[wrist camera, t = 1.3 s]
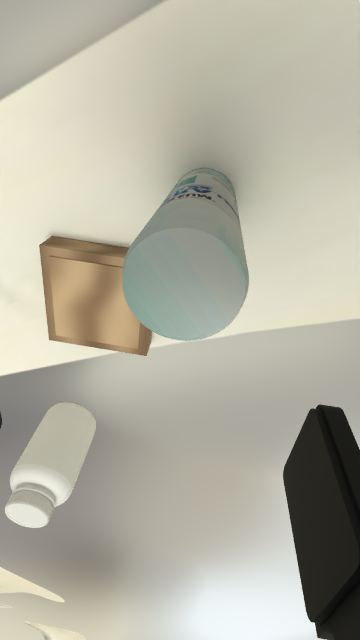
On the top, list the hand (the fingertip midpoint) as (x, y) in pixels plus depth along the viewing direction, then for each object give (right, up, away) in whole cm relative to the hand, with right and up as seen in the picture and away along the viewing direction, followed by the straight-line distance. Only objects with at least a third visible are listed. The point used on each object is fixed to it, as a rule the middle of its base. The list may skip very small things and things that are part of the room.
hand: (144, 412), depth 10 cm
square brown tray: (-8, +6, +30) cm, 32 cm away
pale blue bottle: (+3, +15, +24) cm, 28 cm away
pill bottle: (-15, -13, +43) cm, 47 cm away
